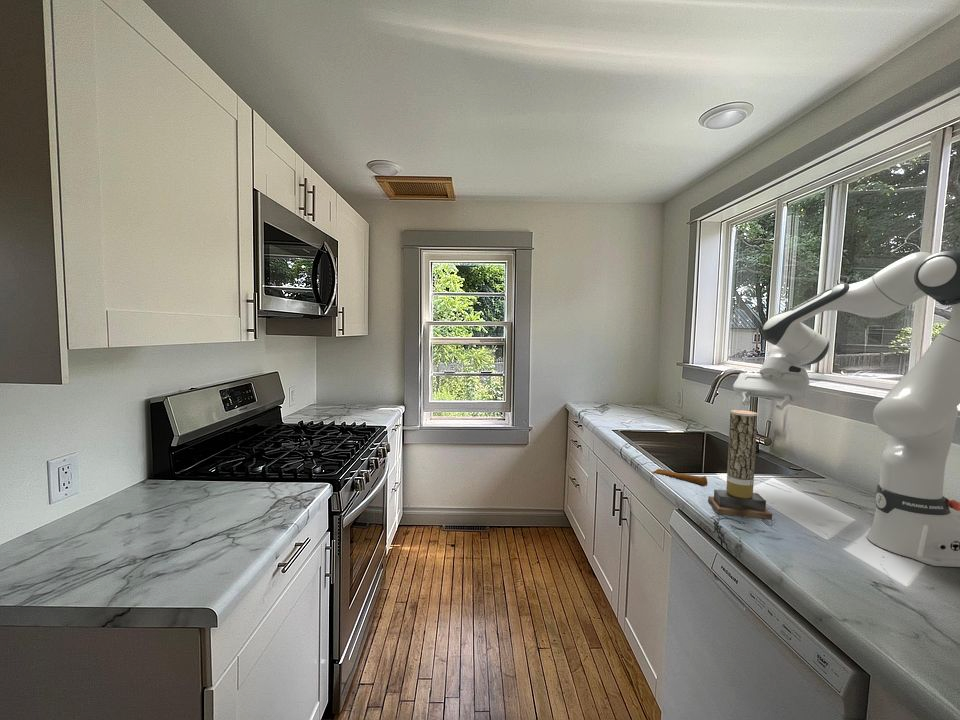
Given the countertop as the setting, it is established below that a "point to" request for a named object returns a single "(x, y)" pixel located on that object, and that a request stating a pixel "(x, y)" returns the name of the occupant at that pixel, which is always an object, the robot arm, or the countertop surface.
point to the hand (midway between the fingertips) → (761, 406)
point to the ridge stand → (739, 505)
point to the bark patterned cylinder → (741, 453)
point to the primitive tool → (683, 476)
